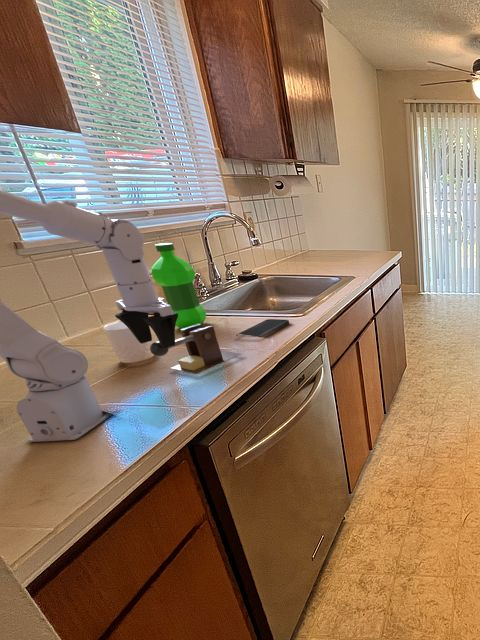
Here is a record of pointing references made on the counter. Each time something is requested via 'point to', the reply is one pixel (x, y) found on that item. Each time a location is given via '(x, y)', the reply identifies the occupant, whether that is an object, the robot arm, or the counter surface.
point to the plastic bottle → (178, 286)
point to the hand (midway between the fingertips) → (157, 344)
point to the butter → (191, 362)
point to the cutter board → (205, 348)
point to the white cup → (127, 343)
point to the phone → (265, 328)
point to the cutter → (160, 351)
